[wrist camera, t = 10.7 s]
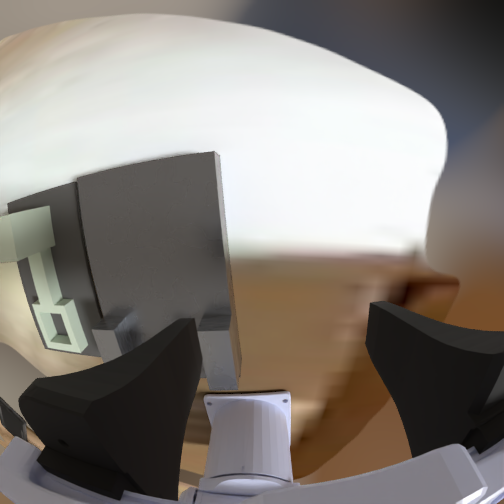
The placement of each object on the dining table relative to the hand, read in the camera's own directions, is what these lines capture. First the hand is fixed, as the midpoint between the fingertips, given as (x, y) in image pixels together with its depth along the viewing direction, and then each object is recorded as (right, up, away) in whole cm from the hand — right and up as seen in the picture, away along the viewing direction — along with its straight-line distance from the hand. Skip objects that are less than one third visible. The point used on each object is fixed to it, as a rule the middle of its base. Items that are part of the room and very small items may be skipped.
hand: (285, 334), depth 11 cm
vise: (-8, +2, +9) cm, 12 cm away
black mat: (-20, +1, +10) cm, 22 cm away
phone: (-50, -31, +19) cm, 62 cm away
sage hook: (-20, +1, +9) cm, 22 cm away
